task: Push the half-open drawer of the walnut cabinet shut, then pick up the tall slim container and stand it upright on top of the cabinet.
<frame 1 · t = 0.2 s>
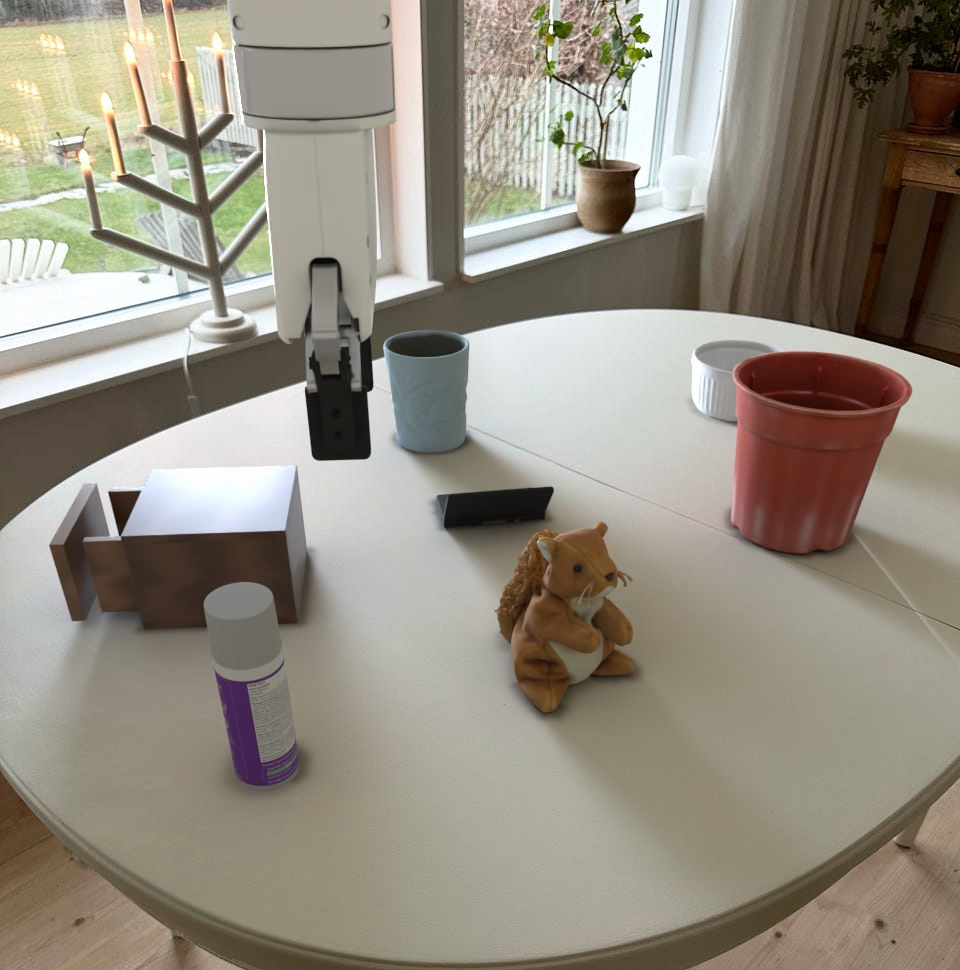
hand: (345, 422, 56), 27 cm above the table, tool pointing down, fingers open, 9 cm apart
light blue cup: (429, 440, 118), on the table
cabinet: (230, 589, 90), on the table
drawer: (141, 548, 87), point 5 cm above the table, slide at 5.0 cm
container: (268, 770, 71), on the table
flower pot: (787, 528, 101), on the table
ramekin: (735, 409, 127), on the table
stuffed squirrel: (552, 659, 82), on the table
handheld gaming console: (492, 520, 102), on the table
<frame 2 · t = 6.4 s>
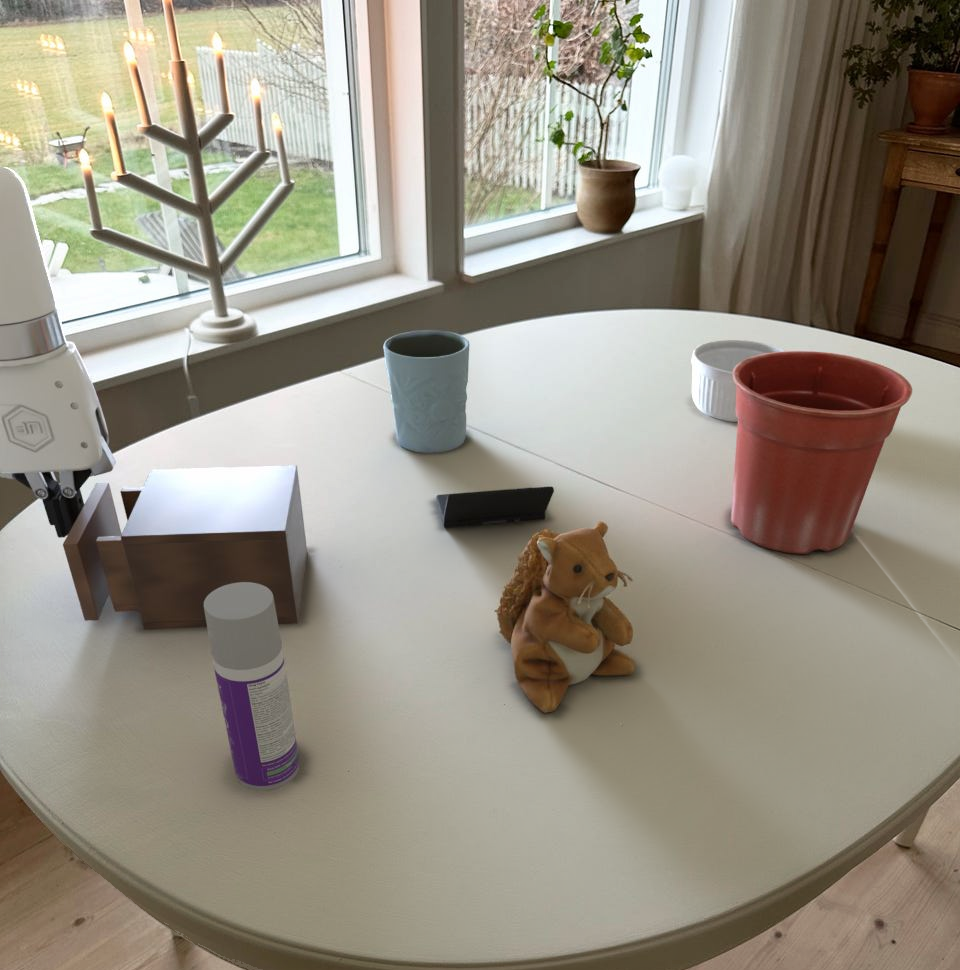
hand: (71, 529, 89), 5 cm above the table, tool pointing down, fingers closed
drawer: (153, 547, 87), point 5 cm above the table, slide at 3.9 cm, touching gripper
everything else where it was.
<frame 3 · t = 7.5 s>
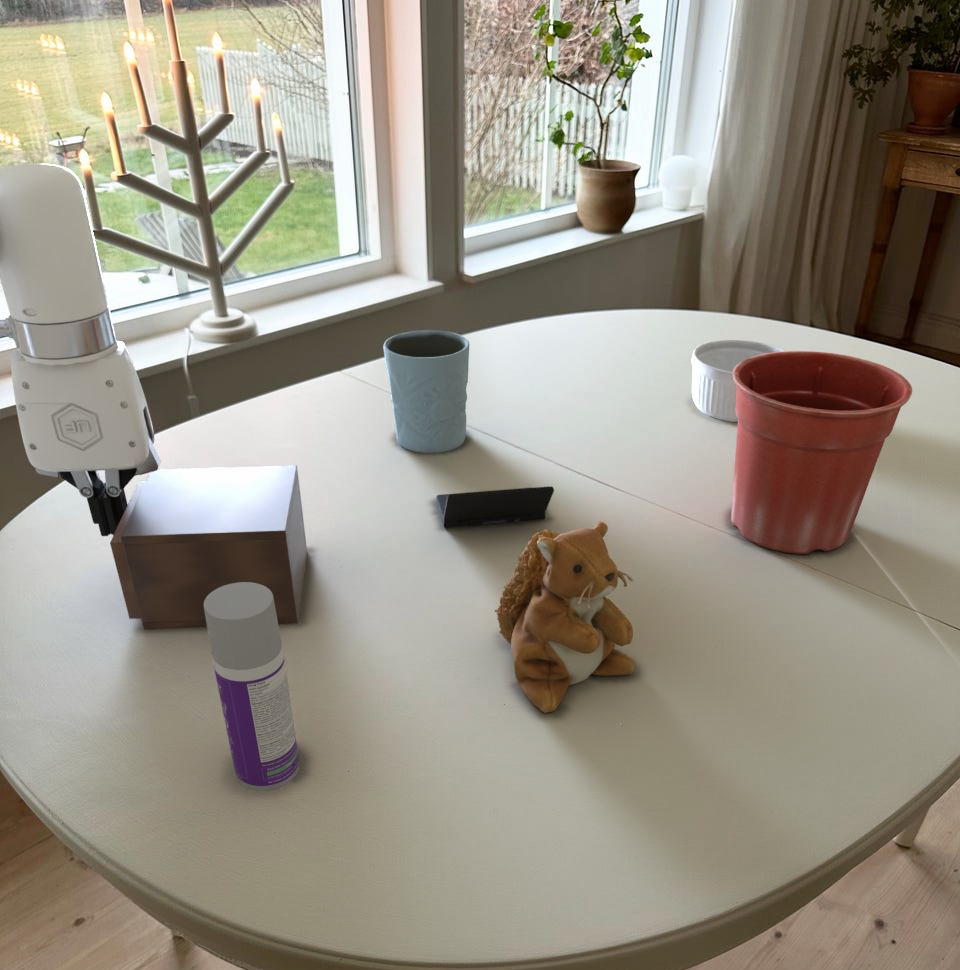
hand: (114, 528, 89), 5 cm above the table, tool pointing down, fingers closed
drawer: (196, 546, 87), point 5 cm above the table, slide at 0.0 cm, touching cabinet, gripper
everything else where it was.
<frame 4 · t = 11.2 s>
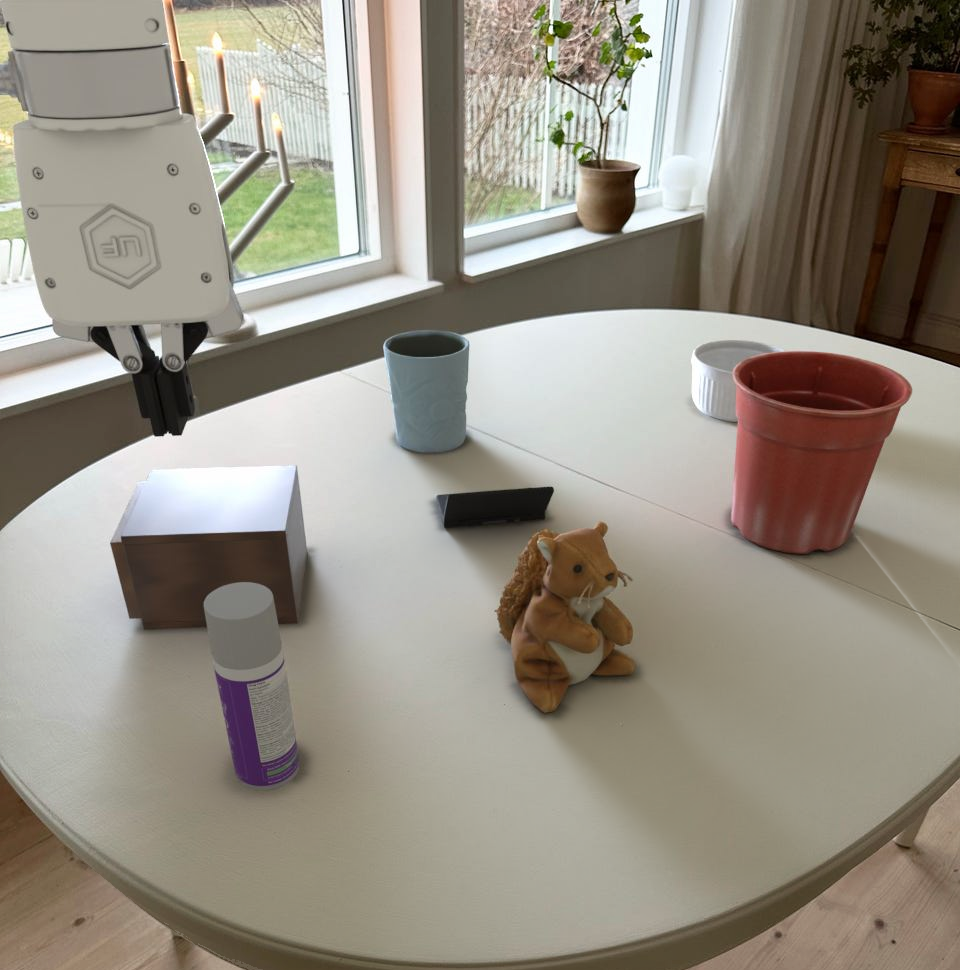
hand: (171, 426, 59), 25 cm above the table, tool pointing down, fingers closed
drawer: (196, 546, 87), point 5 cm above the table, slide at 0.0 cm
everything else where it was.
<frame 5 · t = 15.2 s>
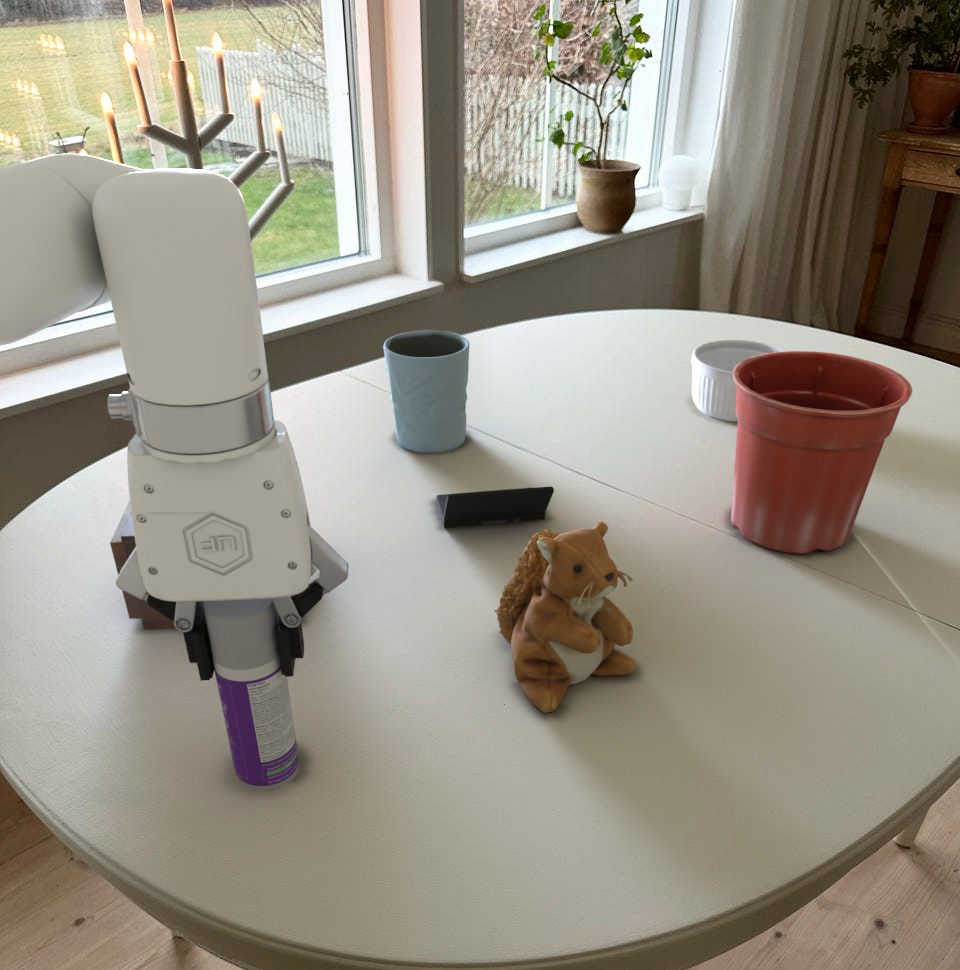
hand: (249, 664, 65), 10 cm above the table, tool pointing down, fingers closed on container, 4 cm apart
container: (268, 770, 71), on the table, touching gripper
everything else where it was.
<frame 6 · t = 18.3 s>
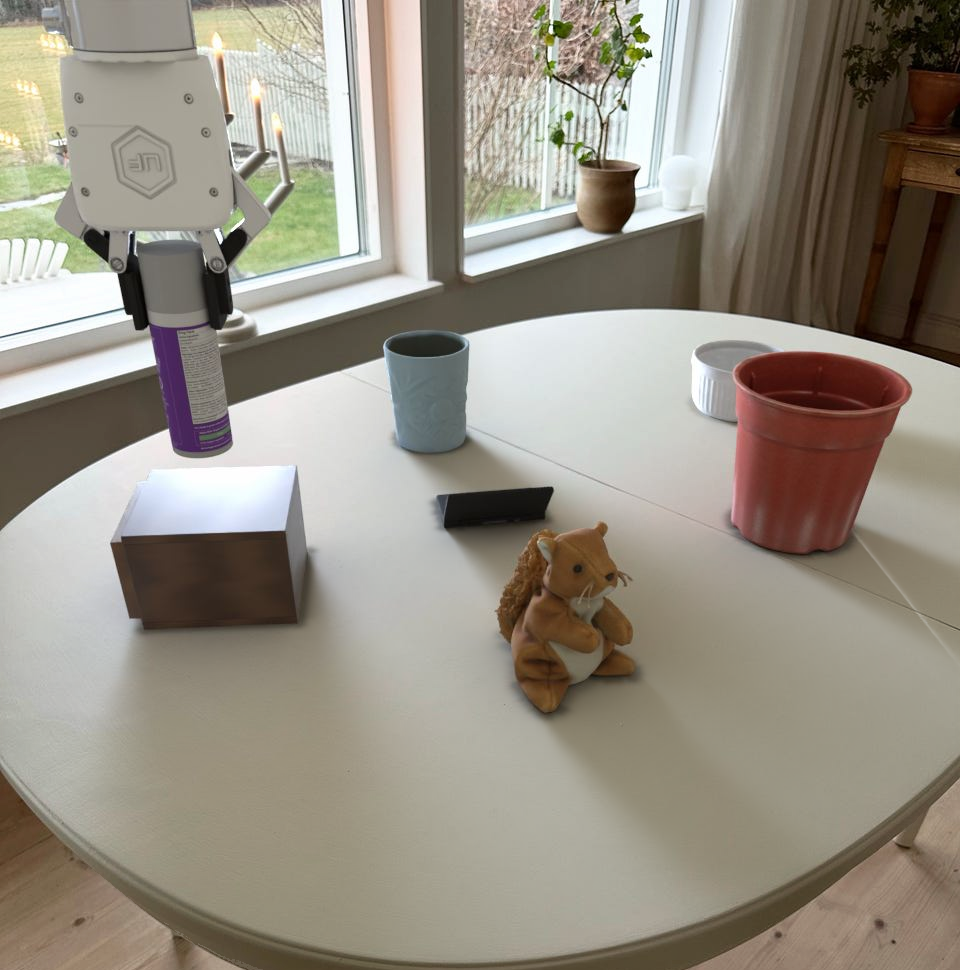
hand: (182, 321, 70), 27 cm above the table, tool pointing down, fingers closed on container, 4 cm apart
container: (203, 448, 76), point 17 cm above the table, touching gripper
everything else where it was.
when the fingers open (19 cm above the table, at t = 21.5 s): container stays where it is, resting on cabinet.
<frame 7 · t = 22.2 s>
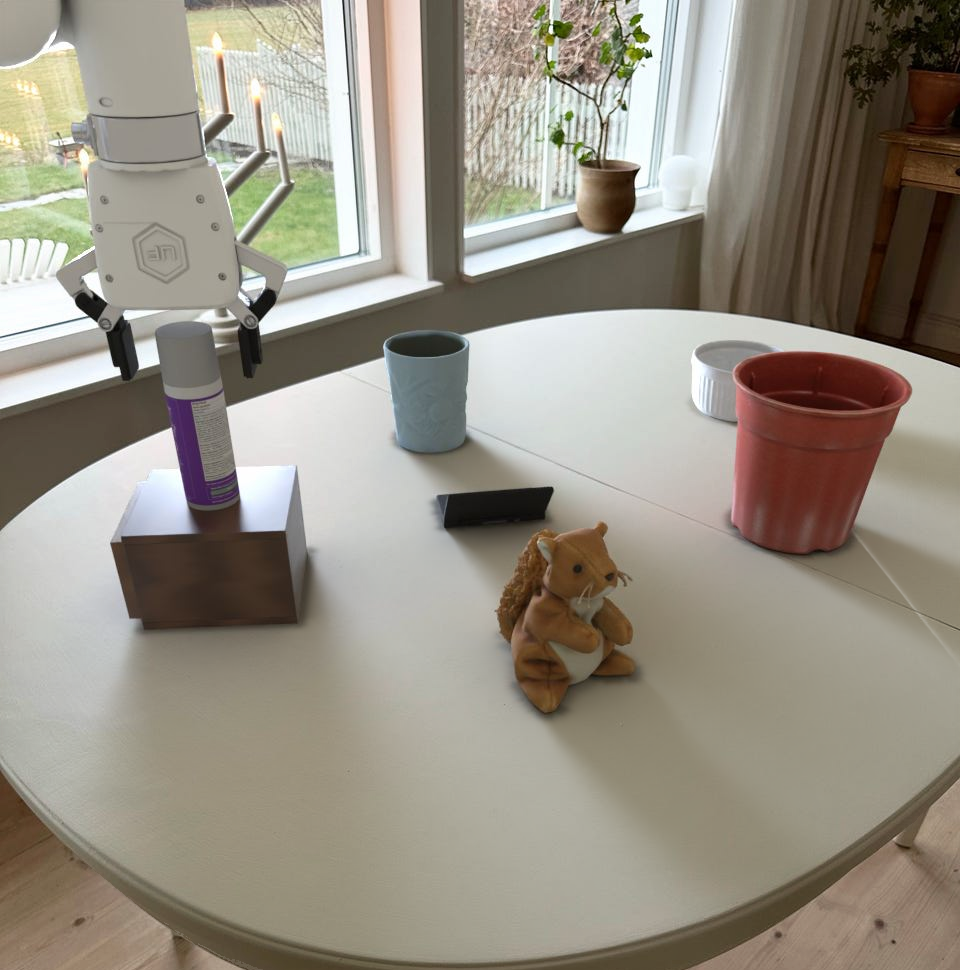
hand: (191, 373, 78), 21 cm above the table, tool pointing down, fingers open, 9 cm apart
container: (213, 500, 85), point 9 cm above the table, touching cabinet
everything else where it was.
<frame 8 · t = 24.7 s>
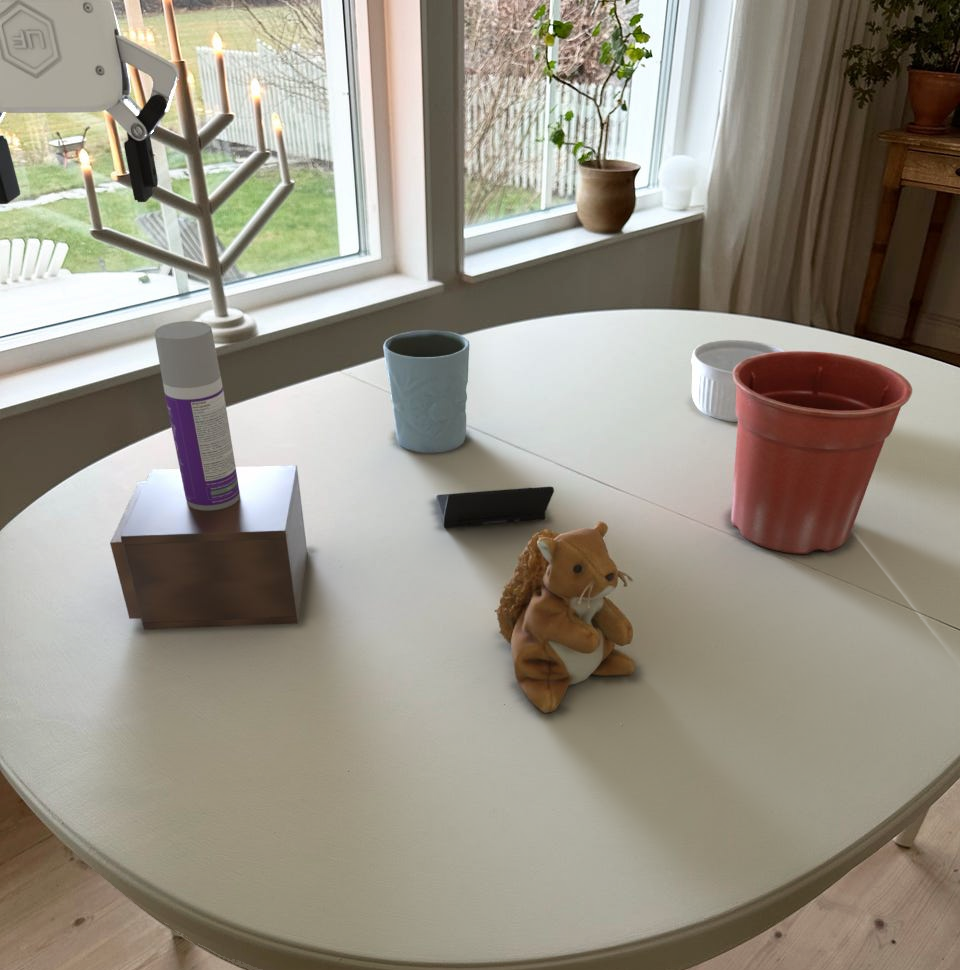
hand: (77, 199, 70), 34 cm above the table, tool pointing down, fingers open, 9 cm apart
nothing on the table moved.
at the end: drawer slide at 0.0 cm; container inside the target area on the cabinet (0.1 cm from its centre), point 9.4 cm above the cabinet's base; container tilted 0° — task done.
